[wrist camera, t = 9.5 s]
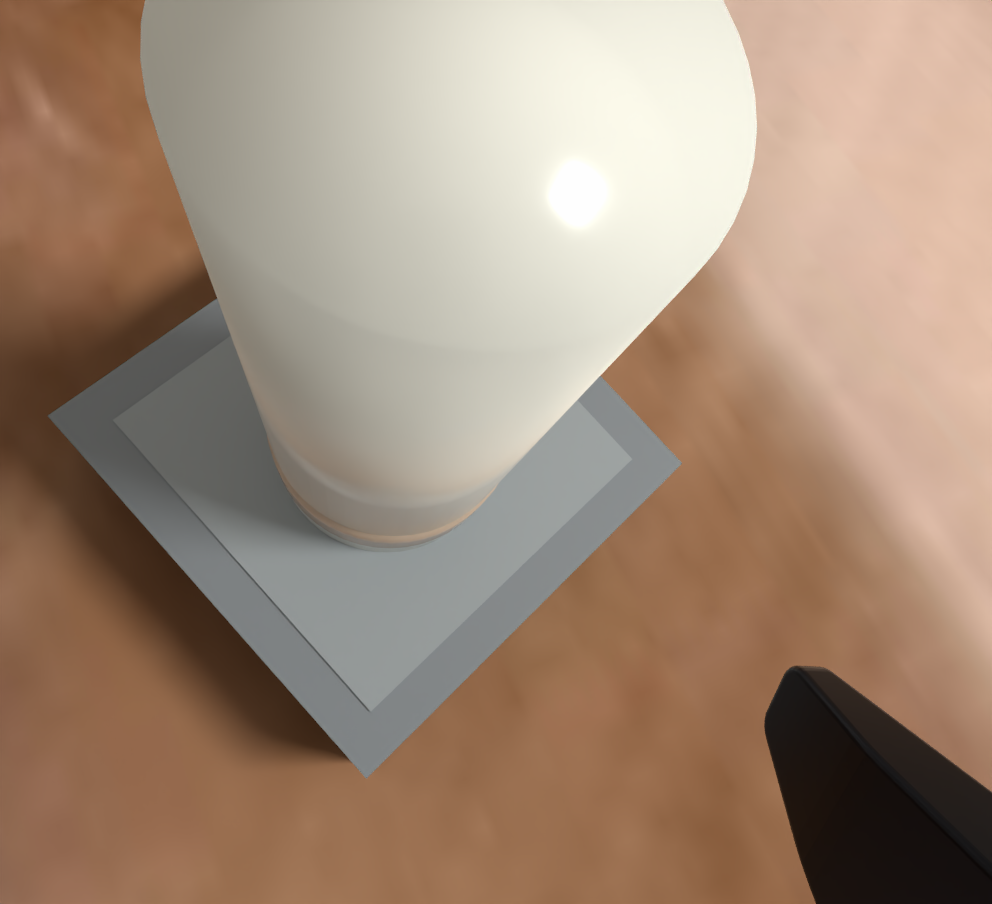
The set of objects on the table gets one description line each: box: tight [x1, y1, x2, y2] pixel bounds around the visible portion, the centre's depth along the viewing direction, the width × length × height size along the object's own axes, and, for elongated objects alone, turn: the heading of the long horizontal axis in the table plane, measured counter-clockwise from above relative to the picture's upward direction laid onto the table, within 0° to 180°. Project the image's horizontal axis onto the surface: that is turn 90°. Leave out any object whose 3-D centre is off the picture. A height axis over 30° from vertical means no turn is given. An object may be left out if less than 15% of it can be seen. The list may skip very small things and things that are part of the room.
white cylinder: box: [140, 0, 757, 552], centre depth 13 cm, size 5×5×13 cm
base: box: [48, 299, 682, 778], centre depth 20 cm, size 11×11×3 cm
